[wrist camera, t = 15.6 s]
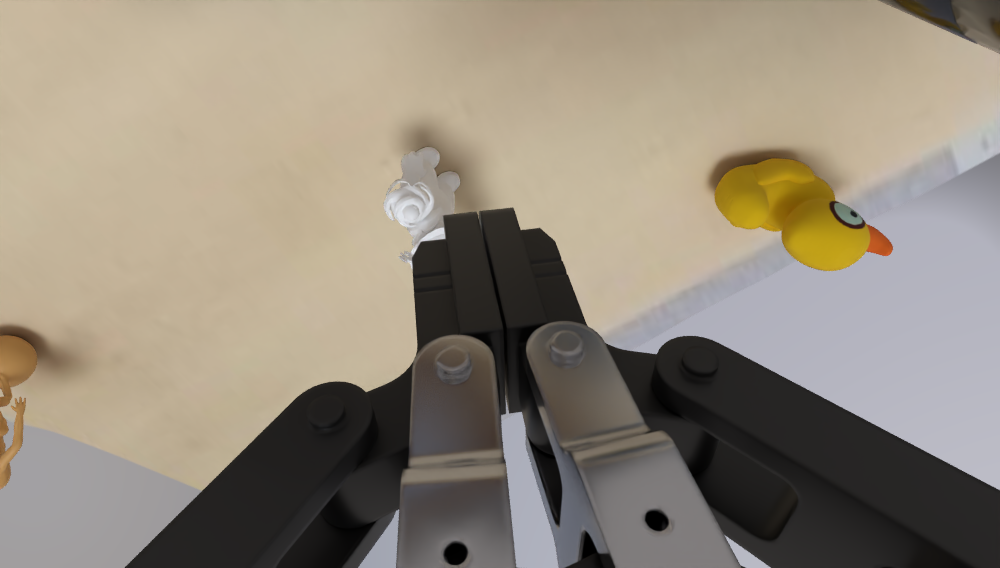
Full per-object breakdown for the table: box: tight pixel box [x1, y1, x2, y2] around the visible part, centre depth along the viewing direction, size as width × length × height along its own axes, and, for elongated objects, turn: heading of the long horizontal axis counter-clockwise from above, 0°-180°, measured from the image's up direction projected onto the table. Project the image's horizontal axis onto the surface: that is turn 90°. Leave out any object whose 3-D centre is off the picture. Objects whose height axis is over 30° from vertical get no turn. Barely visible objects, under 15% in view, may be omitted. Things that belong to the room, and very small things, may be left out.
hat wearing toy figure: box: [384, 147, 460, 270], centre depth 37 cm, size 9×4×12 cm, turn 30°
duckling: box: [715, 158, 893, 271], centre depth 43 cm, size 11×5×10 cm, turn 78°
